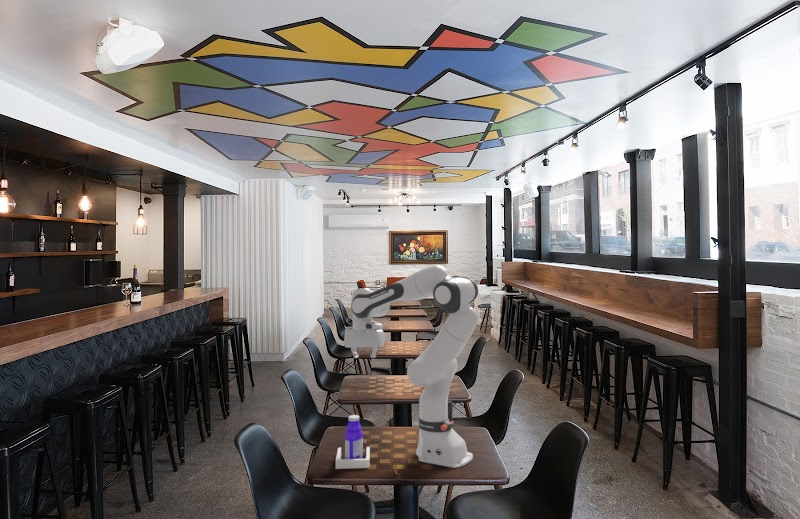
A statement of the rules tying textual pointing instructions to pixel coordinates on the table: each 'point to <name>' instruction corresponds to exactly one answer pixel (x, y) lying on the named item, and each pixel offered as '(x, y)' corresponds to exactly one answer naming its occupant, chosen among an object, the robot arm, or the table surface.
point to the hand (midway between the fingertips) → (364, 357)
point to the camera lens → (450, 410)
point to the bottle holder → (352, 461)
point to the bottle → (354, 439)
